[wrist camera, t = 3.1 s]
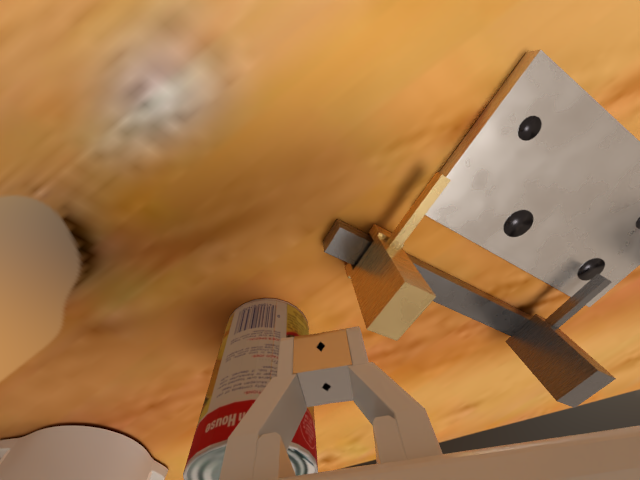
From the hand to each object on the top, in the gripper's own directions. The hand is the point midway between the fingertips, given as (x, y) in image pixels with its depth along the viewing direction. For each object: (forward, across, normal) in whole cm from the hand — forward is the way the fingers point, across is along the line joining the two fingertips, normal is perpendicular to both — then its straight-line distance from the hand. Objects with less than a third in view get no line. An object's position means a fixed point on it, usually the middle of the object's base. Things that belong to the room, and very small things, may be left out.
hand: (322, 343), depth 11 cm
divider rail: (+13, -13, +7) cm, 20 cm away
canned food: (+13, +6, +11) cm, 18 cm away
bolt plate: (+14, -20, +3) cm, 25 cm away
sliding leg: (+13, -6, +2) cm, 14 cm away
